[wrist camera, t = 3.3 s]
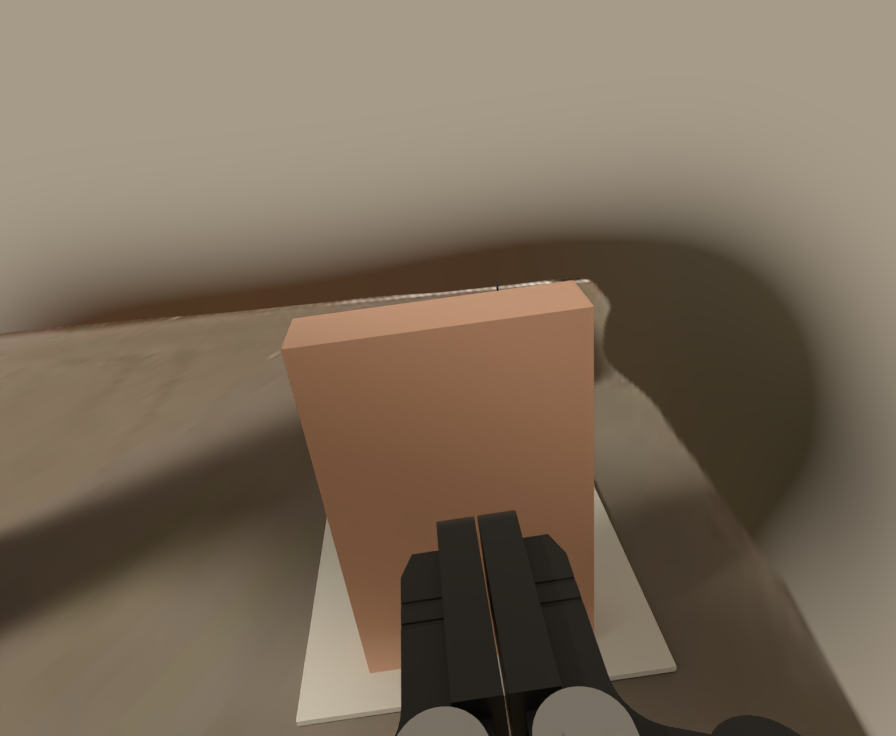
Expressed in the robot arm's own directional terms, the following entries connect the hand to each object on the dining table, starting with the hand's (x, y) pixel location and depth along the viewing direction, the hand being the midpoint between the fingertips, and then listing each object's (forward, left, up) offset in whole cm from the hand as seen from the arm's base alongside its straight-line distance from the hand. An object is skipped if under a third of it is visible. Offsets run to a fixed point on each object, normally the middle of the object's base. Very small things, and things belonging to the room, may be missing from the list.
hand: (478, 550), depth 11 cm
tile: (-8, +6, -15) cm, 18 cm away
